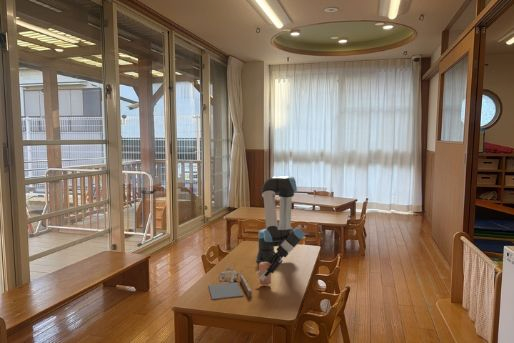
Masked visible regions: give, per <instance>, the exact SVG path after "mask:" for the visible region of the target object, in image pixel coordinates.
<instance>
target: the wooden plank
mask: <svg viewBox="0 0 514 343" xmlns="http://www.w3.org/2000/svg"><path fill="white" fill-rule="evenodd" d="M239 277H240V279H239V280H240V282H241V283H240V284H241V285H242V287H243V289H244V291H245V294H246V295H247V296H248V298H249V299H251V298H253V295H252V294H253V292H252V289H251V287H250V285H249V283H248V282H247V280H246V278H245V277H244V275H243V274H239Z"/></svg>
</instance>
